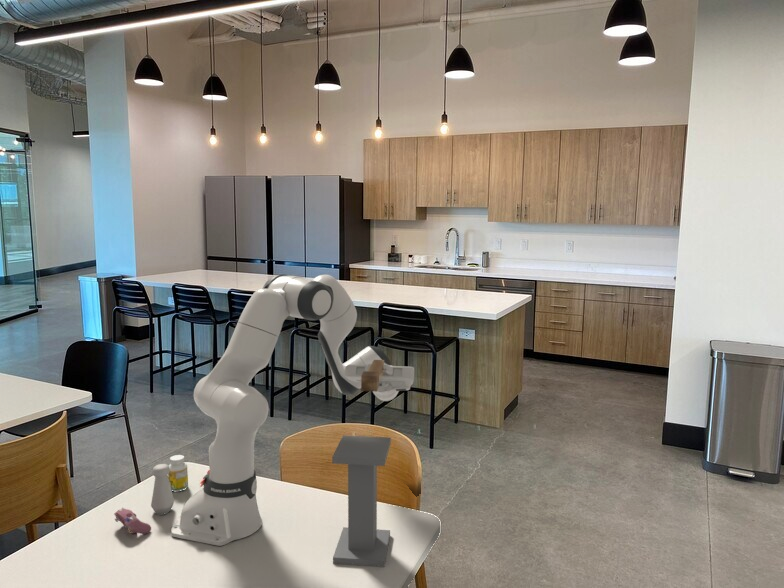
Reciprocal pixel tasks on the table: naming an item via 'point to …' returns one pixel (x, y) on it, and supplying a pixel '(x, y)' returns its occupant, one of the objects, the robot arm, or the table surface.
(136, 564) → the table surface
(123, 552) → the table surface
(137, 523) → the pink toy figure
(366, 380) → the oak shaft
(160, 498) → the salt shaker
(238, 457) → the robot arm
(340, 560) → the charcoal stand
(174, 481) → the supplement bottle
